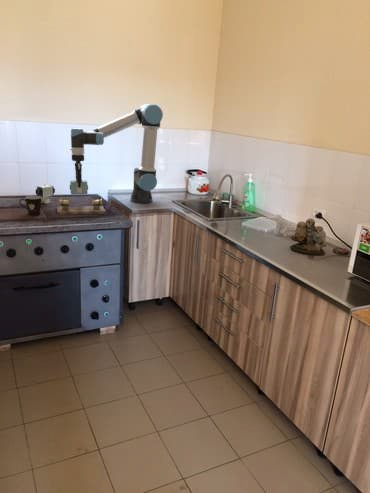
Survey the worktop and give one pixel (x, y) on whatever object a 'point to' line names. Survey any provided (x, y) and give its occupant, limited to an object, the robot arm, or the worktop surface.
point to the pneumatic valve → (45, 192)
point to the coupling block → (74, 187)
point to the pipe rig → (65, 204)
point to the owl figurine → (309, 238)
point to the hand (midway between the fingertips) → (79, 191)
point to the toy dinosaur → (282, 225)
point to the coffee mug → (33, 205)
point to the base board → (81, 210)
